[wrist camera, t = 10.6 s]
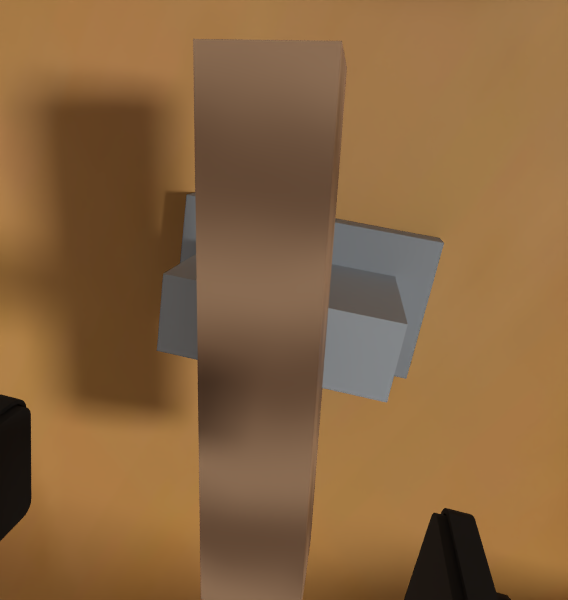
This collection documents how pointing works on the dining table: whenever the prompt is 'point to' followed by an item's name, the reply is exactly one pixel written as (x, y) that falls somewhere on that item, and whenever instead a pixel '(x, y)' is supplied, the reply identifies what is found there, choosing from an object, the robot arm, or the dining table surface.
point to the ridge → (335, 303)
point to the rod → (262, 301)
